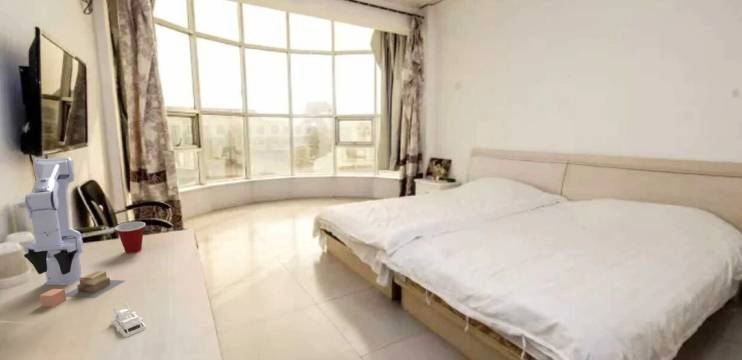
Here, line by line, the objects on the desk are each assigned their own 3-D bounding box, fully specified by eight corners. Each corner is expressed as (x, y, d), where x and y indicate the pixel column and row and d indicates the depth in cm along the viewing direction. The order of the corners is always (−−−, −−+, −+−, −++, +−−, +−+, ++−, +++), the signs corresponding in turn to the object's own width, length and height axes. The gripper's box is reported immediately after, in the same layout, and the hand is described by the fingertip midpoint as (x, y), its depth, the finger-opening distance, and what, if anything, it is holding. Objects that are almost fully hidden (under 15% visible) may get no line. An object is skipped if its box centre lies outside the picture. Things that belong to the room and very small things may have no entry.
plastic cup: (121, 258, 141) (117, 230, 139) (115, 251, 148) (112, 225, 146) (151, 250, 149) (148, 224, 147) (144, 244, 156) (141, 219, 154)
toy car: (123, 339, 88) (120, 324, 87) (109, 323, 96) (106, 309, 95) (149, 328, 93) (147, 314, 92) (134, 313, 100) (132, 300, 100)
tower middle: (80, 284, 112) (78, 277, 112) (93, 277, 117) (92, 270, 116) (93, 285, 112) (92, 277, 111) (106, 278, 116) (105, 271, 116)
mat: (61, 296, 109) (61, 296, 109) (94, 279, 121) (94, 279, 121) (94, 298, 108) (94, 297, 108) (125, 281, 120) (125, 280, 120)
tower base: (78, 291, 112) (77, 284, 112) (94, 283, 118) (93, 276, 117) (94, 292, 111) (93, 285, 111) (110, 284, 117) (109, 277, 117)
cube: (41, 307, 104) (39, 295, 103) (55, 300, 107) (53, 288, 107) (53, 307, 103) (51, 295, 102) (66, 301, 107) (64, 289, 106)
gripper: (10, 234, 98) (18, 278, 101) (57, 235, 98) (64, 279, 100) (34, 227, 105) (42, 268, 108) (79, 227, 105) (85, 269, 107)
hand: (54, 272), depth 104 cm, fingers open, 7 cm apart
